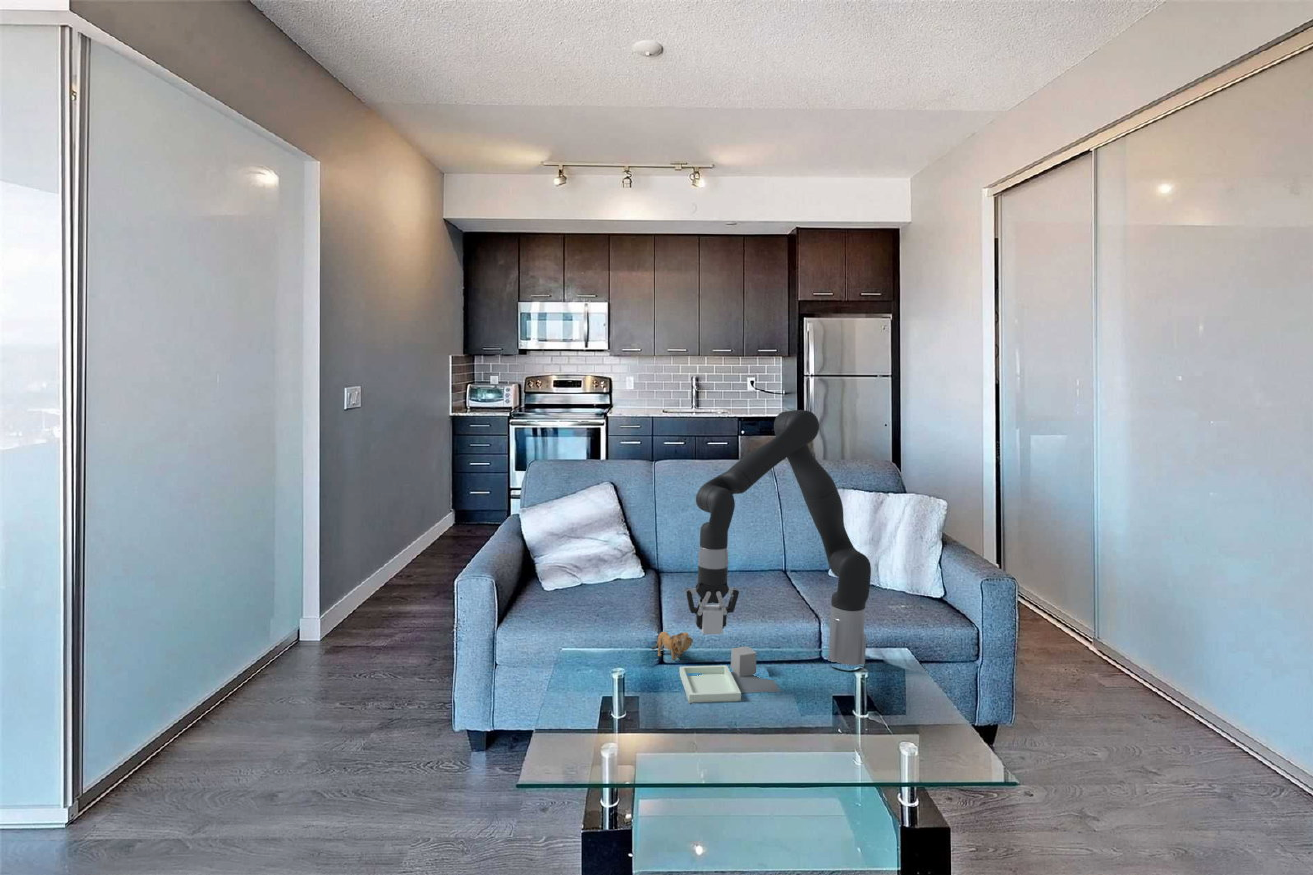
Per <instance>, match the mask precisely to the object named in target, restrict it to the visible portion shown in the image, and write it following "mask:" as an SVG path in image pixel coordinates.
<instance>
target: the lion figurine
mask: <svg viewBox="0 0 1313 875" xmlns="http://www.w3.org/2000/svg"><path fill="white" fill-rule="evenodd" d="M693 643H694V639H693V638H691V637H690V635H689V632H685V631H684V632H683V631H682V632H680V633H677V634H674V635H672V636H671V635H670V634H669V633H668V632H666V631H661V632H660V633H659V634H658V638H657V643H656V644H655V646H653V647H651V648H650V649H651V650H656V648H657V647H658V648H657V656H658V657H662V656H661V655H662V654H661V651H663V652H665V649H664V647H665V648H666V650H668V651H670V653H671V661H672V660H676V659H677V658H680V659H681V655H682V654H684V652H686V651H688V650H689V649H690V647H691V646H692V645H693Z"/></svg>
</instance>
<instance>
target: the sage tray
mask: <svg viewBox="0 0 1313 875" xmlns="http://www.w3.org/2000/svg"><path fill="white" fill-rule="evenodd" d="M728 667H729V666H728V665H724V664H723V665H689V666H688V665H687V666H685V665H684V666H683V665H682V666H679V673H680V674H679V677H680V679H681V683H682V685H683V688H684V689H683V690H684V692H685V696H686V699H687V701H688V705H692V704H693V703H718V702H719V703H720V702H721V703H722V702H723V703H726V702H741V701H742V693H741V692H740V690H739V688H738V686H737V684H736V682H735V680H734V678H733V676H732V674H731V672H730V670H729V668H728ZM687 673H702V675H699V676H698V675H697V676H687V675H686V674H687Z"/></svg>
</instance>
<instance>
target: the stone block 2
mask: <svg viewBox="0 0 1313 875" xmlns="http://www.w3.org/2000/svg"><path fill="white" fill-rule="evenodd" d="M730 654H731V656H730V667H731V668H732V671H733V672H734V673H735V674H736V675H738V676H739V677H742V676H748V675H753V674H755V673H756V666H757V655H758V654H757V652H756V651H754V650H753V649H752V648H750V647H749V646H748V645H747V646H740V647H732V648H731V651H730Z"/></svg>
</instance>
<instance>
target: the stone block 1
mask: <svg viewBox="0 0 1313 875" xmlns="http://www.w3.org/2000/svg"><path fill="white" fill-rule="evenodd" d="M702 616H703V618H702V629H700V632H701V633H702V635H705V636H706V635H723V632H724V631H723V630H724V629H723V610H721V608H720V607H719V604H706V607H705V608H704V610H703V613H702Z"/></svg>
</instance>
